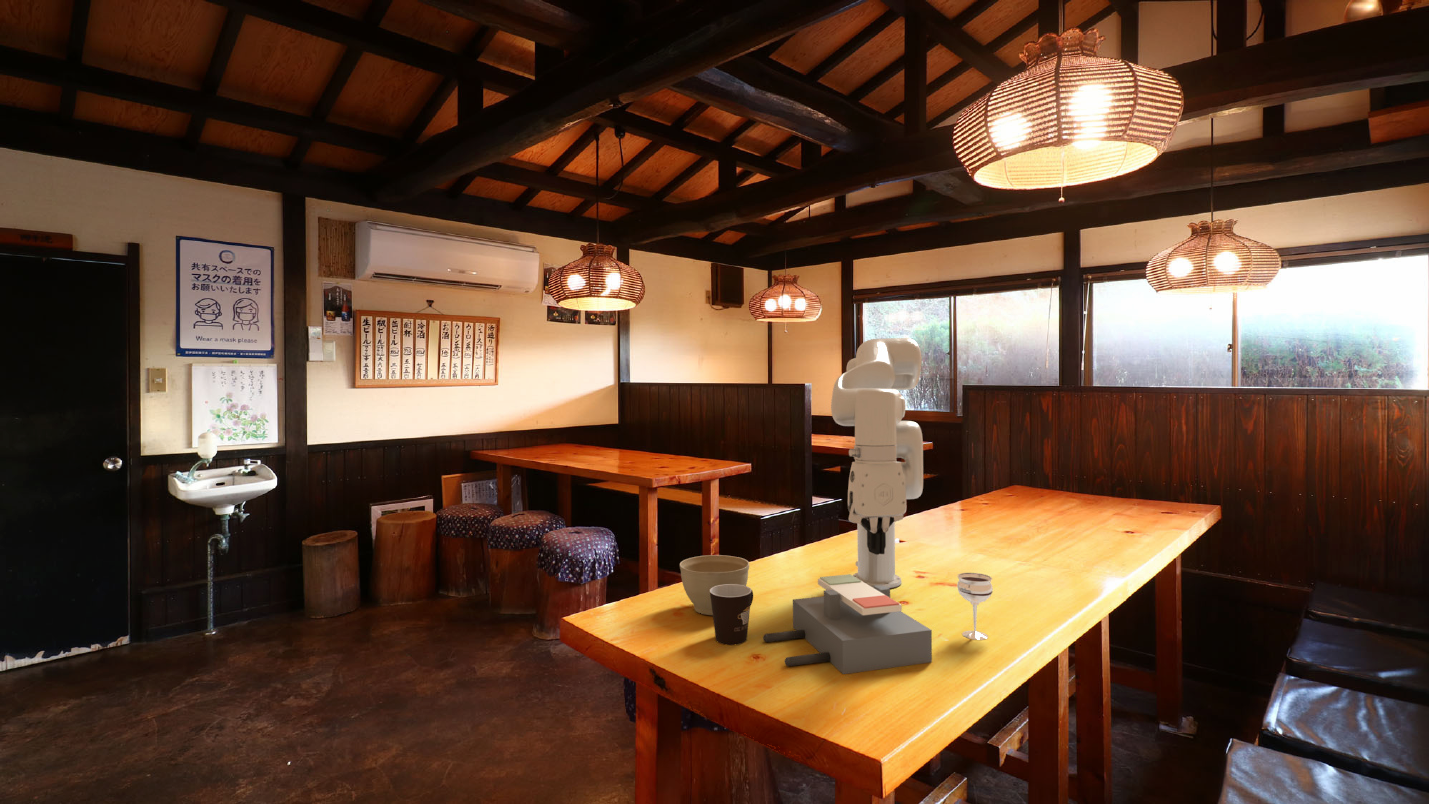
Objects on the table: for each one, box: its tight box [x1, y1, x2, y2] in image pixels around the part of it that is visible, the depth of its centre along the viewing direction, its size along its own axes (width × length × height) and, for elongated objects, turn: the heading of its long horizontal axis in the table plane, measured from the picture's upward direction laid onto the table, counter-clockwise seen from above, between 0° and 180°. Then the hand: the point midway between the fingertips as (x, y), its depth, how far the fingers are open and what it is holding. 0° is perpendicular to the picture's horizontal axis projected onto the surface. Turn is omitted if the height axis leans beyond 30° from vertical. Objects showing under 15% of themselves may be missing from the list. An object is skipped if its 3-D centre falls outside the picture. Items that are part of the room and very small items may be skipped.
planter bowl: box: [679, 554, 750, 616], centre depth 152 cm, size 16×16×11 cm
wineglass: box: [956, 572, 993, 641], centre depth 134 cm, size 7×7×12 cm
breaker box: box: [762, 585, 933, 675], centre depth 129 cm, size 24×27×11 cm
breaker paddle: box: [817, 573, 903, 615], centre depth 130 cm, size 20×8×2 cm, turn 15°
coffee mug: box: [710, 584, 754, 646], centre depth 134 cm, size 12×9×10 cm
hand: (876, 552), depth 122 cm, fingers closed
